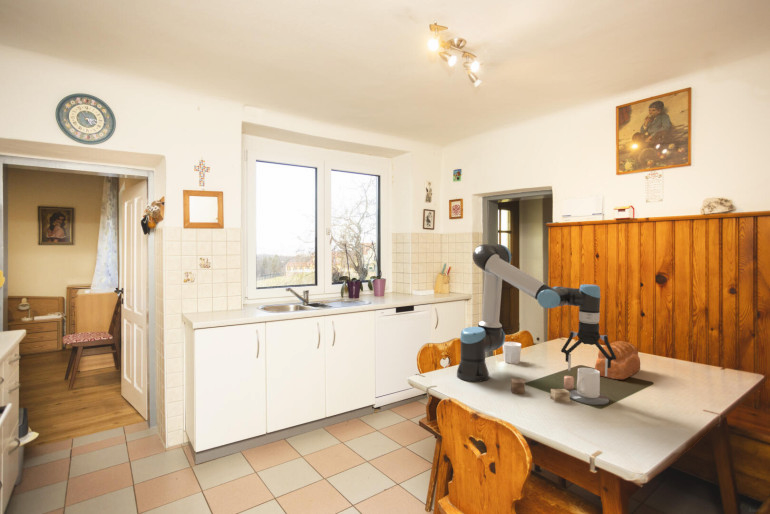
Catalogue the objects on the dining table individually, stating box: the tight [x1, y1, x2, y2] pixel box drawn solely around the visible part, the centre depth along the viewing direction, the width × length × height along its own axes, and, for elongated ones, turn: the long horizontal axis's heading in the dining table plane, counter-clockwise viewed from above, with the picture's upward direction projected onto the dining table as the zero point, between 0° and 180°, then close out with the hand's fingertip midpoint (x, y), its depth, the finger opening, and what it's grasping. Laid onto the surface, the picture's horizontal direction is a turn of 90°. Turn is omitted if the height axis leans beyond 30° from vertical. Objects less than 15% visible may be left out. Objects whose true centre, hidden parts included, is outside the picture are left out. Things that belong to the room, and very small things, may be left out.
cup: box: [501, 341, 522, 365], centre depth 215 cm, size 10×10×10 cm
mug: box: [576, 367, 601, 398], centre depth 162 cm, size 12×8×10 cm
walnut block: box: [510, 378, 526, 395], centre depth 169 cm, size 5×5×5 cm
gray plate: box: [569, 389, 610, 406], centre depth 162 cm, size 15×15×1 cm
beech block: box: [550, 388, 571, 403], centre depth 160 cm, size 6×4×4 cm, turn 92°
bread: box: [594, 340, 641, 381], centre depth 195 cm, size 14×26×16 cm, turn 130°
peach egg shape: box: [563, 375, 575, 391], centre depth 174 cm, size 4×4×5 cm
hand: (587, 372), depth 162 cm, fingers open, 13 cm apart
